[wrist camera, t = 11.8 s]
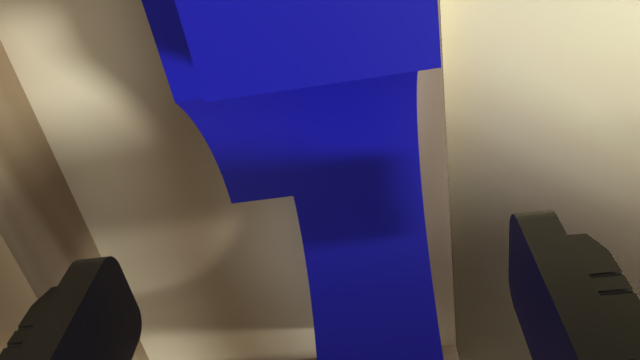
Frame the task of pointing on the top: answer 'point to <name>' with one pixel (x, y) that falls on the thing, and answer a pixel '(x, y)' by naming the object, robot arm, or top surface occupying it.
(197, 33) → the cable clip
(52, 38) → the notched board
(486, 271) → the top surface
